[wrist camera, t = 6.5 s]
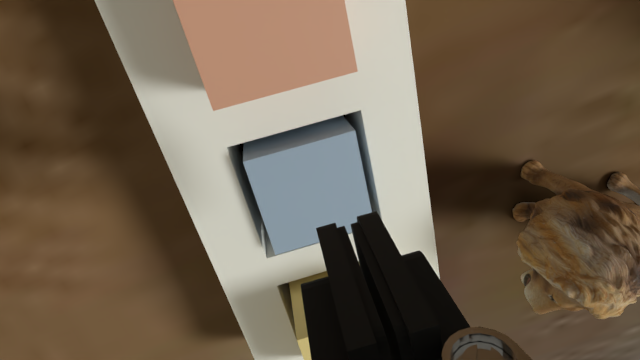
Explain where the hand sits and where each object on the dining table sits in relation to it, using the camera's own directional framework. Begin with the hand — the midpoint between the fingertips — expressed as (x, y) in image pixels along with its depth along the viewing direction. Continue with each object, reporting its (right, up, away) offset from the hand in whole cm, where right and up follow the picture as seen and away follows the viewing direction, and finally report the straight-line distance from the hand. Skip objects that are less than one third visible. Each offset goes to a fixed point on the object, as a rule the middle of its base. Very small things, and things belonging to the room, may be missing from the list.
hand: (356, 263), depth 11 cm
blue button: (-2, +3, +9) cm, 9 cm away
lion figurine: (+14, +1, +14) cm, 19 cm away
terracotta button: (-3, +8, +4) cm, 10 cm away
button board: (-2, +3, +9) cm, 10 cm away
